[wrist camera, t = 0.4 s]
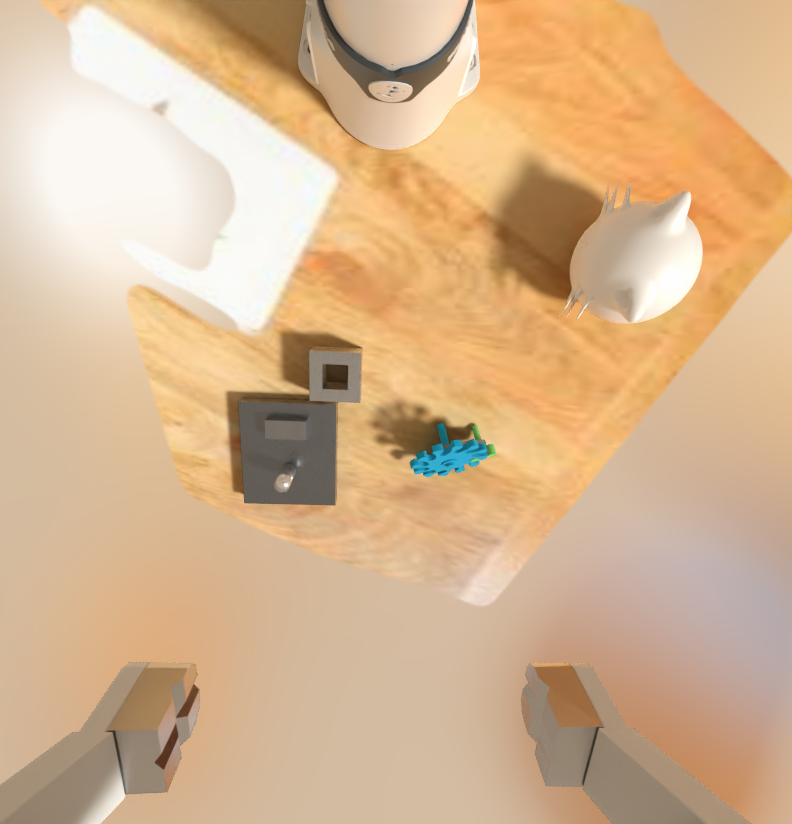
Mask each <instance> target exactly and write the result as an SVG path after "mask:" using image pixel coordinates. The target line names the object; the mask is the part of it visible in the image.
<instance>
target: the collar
mask: <svg viewBox="0 0 792 824" xmlns="http://www.w3.org/2000/svg"><path fill="white" fill-rule="evenodd" d="M362 351H363V348H352V347H330V346H313V347H312V348H311V349H310V350H309V390H310V401H327V402H353V403H360V400H361V385H362ZM326 364H334V365H348V383H346V382H326Z"/></svg>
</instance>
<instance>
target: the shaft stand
mask: <svg viewBox="0 0 792 824" xmlns="http://www.w3.org/2000/svg"><path fill="white" fill-rule="evenodd" d="M238 405H239V422H240V439H241V455H242V472H243V489H244V503H260V504H302V505H335V504H336V498H337V423H338V402H327V401H310V400H297V399H271V398H245V397H243V398H242V399H241V400H240V401H238Z"/></svg>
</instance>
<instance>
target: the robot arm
mask: <svg viewBox="0 0 792 824" xmlns="http://www.w3.org/2000/svg"><path fill="white" fill-rule="evenodd" d="M309 49H310V53H311V54H310V53H309V52H308V50H309ZM298 66H299V70H300V73H301V74H302V76H303V77H304V78H305V79H306V80H307V81H308V82H309V83H310V84H311V85H312V86H313V87H315V88H316V89H317V90H318V91H319V92H321V94H322V95H323V96H324V98H325V100H326V101H327V103H328V105H329V107H330V109H331V111H332V113H333V114H334V116H335V117H336V119H337V120H338V122H339V123H340V124H341V125H342V126H343V128H344V129H345V130H346V131H347V132H349V133H350V134H351V135H352V136H353V137H355V138H356V139H358V140H359V141H361V142H363V143H365V144H367V145H369V146H372V147H375V148H380V149H387V150H394V149H402V148H406V147H410V146H412V145H415V144H417V143H419V142H421V141H422V140H424V139H425V138H427V137H428V136H429V135H430V134H432V133H433V132H434V131H435V130H436V129H437V128H438V126H439V125H440V124H441V123H442V121H443V120H444V118H445V117H446V115H447V114H448V112H449V111H450V109H451V108H452V107H453V106H454V105H455V104H456V103H457V102H459V101H460V100H462V99H463V98H465V97H466V96H468V95H469V94H470V93H472V92H473V91H474V90H475V88H476V87H477V85H478V82H479V78H480V66H479V52H478V38H477V23H476V9H475V0H306V9H305V15H304V22H303V28H302V34H301V41H300V47H299V54H298ZM197 675H198V674H197V668H196V664H192V663H161V662H160V663H158V662H129V663H127V664H126V665H125V666H124V667H123V668H122V669H121V670H120V672H119V673H118V675H117V677H116V678H115V679H114V681H113V682H112V684H111V685H110V687H109V688H108V690H107V691H106V693H105V694H104V696H103V697H102V699H101V700H100V702H99V703H98V705H97V706H96V708H95V709H94V711H93V712H92V714H91V715H90V717H89V718H88V720H87V721H86V722H85V724H84V726H83V727H82V728H81V730H80V731H79V732H72V733H70V734H69V735H68V736H66V737H65V738H63V739H62V740H61V741H59V742H58V743H57V744H55V745H54V746H53V747H51V748H50V749H49V750H47V751H46V752H44V753H43V754H42V755H40V756H39V757H38V758H36V759H35V760H34V761H32V762H31V763H29V764H28V765H27V766H26V767H24V768H23V769H21V770H20V771H19V772H17V773H16V774H14V775H13V776H12V777H11V778H9V779H8V780H6V781H5V782H4V783H2V784H1V785H0V824H101V823H102V821H104V819H105V818H106V817H107V816H108V815H109V814H110V813H111V812H112V811H113V810H114V809H115V808H116V807H117V806H118V804H119V803H120V802H121V801H122V800H123V799H124V798H125V794H141V793H162V792H167V791H168V789H169V786H170V784H171V781H172V779H173V777H174V775H175V772H176V770H177V767H178V765H179V763H180V760H181V751H180V746H181V745H182V744H183V743H184V742H185V741H186V740H187V739H188V738H189V737H190V736H191V733H192V731H193V728H194V726H195V723H196V719H197V715H198V711H199V704H200V692H199V689H198V688H197V687H196V686H195V685H194V682H195V680H196V677H197ZM525 675H526V678H527V681H528V684H527V685H526V686H525V687H524V688H523V691H522V698H521V703H522V714H523V719H524V723H525V726H526V729H527V732H528V734H529V735H530V736H531V737H532V738H533V739H534V740H535V741H536V742H537V745H536V751H535V756H536V759H537V762H538V765H539V767H540V770H541V773H542V776H543V779H544V782H545V785H546V786H563V787H583V790H584V791H585V793H586V794H587V795H588V796H589V797H590V798H591V800H592V801H593V802H594V803H595V804H596V806H597V807H598V808H599V809H600V810H601V811H602V813H603V814H604V815H605V816H606V817H607V818H608V820H609V821H610V822H611V823H612V824H751V823H750V822H749V821H747V820H746V819H745V818H744V817H743V816H741V815H740V814H739V813H738V812H737V811H735V810H734V809H733V808H732V807H730V806H729V805H728V804H727V803H725V802H724V801H723V800H722V799H720V798H719V797H718V796H717V795H716V794H714V793H713V792H712V791H711V790H709V789H708V788H707V787H706V786H705V785H703V784H702V783H701V782H700V781H698V780H697V779H696V778H695V777H694V776H692V775H691V774H690V773H688V772H687V771H686V770H685V769H684V768H682V767H681V766H680V765H679V764H677V763H676V762H675V761H674V760H673V759H671V758H670V757H669V756H668V755H666V754H665V753H664V752H663V751H662V750H660V749H659V748H658V747H657V746H655V745H654V744H653V743H652V742H651V741H649V740H648V739H647V738H646V737H644V736H643V735H642V734H641V733H639V732H638V731H637V730H636V729H635V728H628V727H627V726H626V724H625V722H624V721H623V719H622V717H621V715H620V714H619V712H618V710H617V708H616V707H615V705H614V703H613V701H612V700H611V698H610V696H609V695H608V693H607V691H606V689H605V688H604V686H603V684H602V682H601V681H600V679H599V677H598V676H597V674H596V672H595V670H594V669H593V667H592V666H591V665H590V664H589V663H530V664H529V665H528V666H527V669H526V674H525Z"/></svg>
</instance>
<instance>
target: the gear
mask: <svg viewBox="0 0 792 824" xmlns="http://www.w3.org/2000/svg"><path fill="white" fill-rule="evenodd" d="M437 428H438V433H439V437H440V441H441V444H437V445H433V446H431V448H432V452H433V454H431V455H427V452H426V451H421V452H419V453H417V454H416V456H417V459H413V460H411V462H410V465H411V469H414V473H415V474H420V473H423V475H424V476H426V477H429V476H432V475H433V474H435V473H437V472H438V475H439V476H446V475H447V474H448V472H449V471H450V470H452V469H454V468H455V472H456V473H457V472H462V471H464V470H465V469H464V464H468V463H469V465H470V467H473V466H476V465H478V464H479V460H483V459H485V458H486V457H488V456H489V457H492V456H495V455H496V452H495V448H494V445H493V444H489V445H487V446H486V442H485V440H481V438H480V434H479V431H478V428H477V425H473V426H472V430H473V434H474V437H475V440H474V439H472V440H469V441H466V442H462V441H461V440H453V441H451V442H450V444H449V440H448V436H447V432H446V429H445V425H444V424H443V423H442V424H438V425H437ZM487 453H488V454H487Z"/></svg>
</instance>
